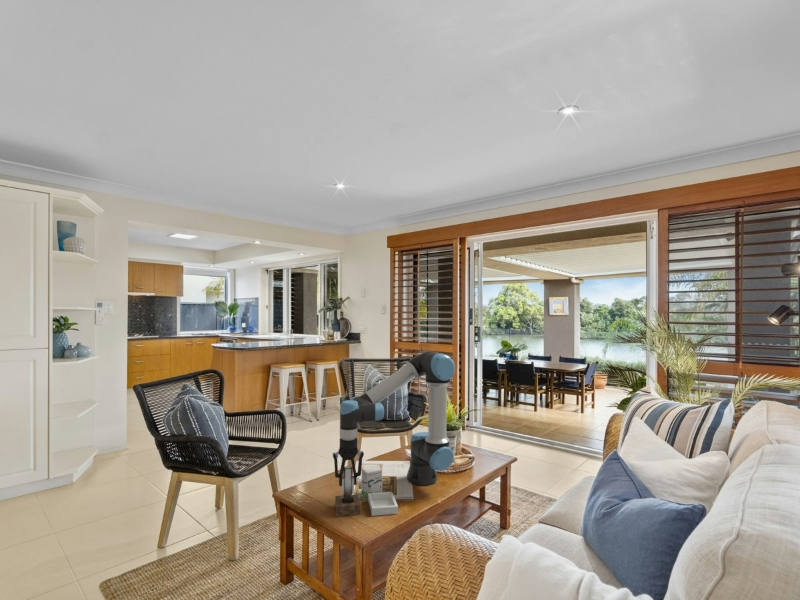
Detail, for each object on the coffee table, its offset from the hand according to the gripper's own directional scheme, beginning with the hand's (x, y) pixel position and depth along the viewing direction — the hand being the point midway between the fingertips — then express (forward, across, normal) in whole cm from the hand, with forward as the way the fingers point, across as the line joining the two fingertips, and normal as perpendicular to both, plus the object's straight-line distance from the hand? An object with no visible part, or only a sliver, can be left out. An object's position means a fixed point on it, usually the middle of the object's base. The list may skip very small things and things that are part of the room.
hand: (347, 492), depth 180 cm
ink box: (+7, -12, -12) cm, 19 cm away
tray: (+7, -15, 0) cm, 17 cm away
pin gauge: (+3, 0, 0) cm, 3 cm away
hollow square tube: (+7, 0, 0) cm, 7 cm away
